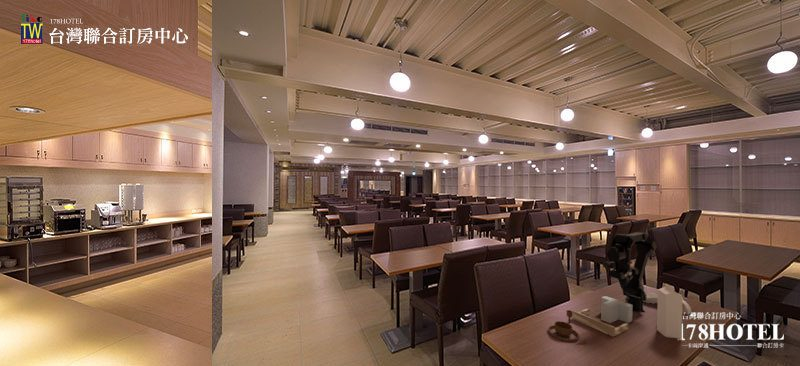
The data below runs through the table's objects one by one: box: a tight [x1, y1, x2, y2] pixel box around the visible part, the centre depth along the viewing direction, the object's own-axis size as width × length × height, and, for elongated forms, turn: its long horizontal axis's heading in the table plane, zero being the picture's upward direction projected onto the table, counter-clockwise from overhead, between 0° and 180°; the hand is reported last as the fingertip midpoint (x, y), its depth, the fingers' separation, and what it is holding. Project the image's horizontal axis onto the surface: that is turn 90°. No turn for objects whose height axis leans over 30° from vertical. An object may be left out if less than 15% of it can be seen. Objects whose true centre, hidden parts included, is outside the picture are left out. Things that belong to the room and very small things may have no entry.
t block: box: [600, 295, 633, 324], centre depth 142 cm, size 12×12×8 cm
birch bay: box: [571, 308, 629, 337], centre depth 136 cm, size 13×18×4 cm
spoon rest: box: [643, 291, 692, 316], centre depth 157 cm, size 24×12×7 cm, turn 30°
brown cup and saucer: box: [547, 309, 587, 346], centre depth 128 cm, size 18×20×6 cm
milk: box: [656, 283, 683, 340], centre depth 127 cm, size 6×6×22 cm
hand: (622, 288), depth 146 cm, fingers closed
